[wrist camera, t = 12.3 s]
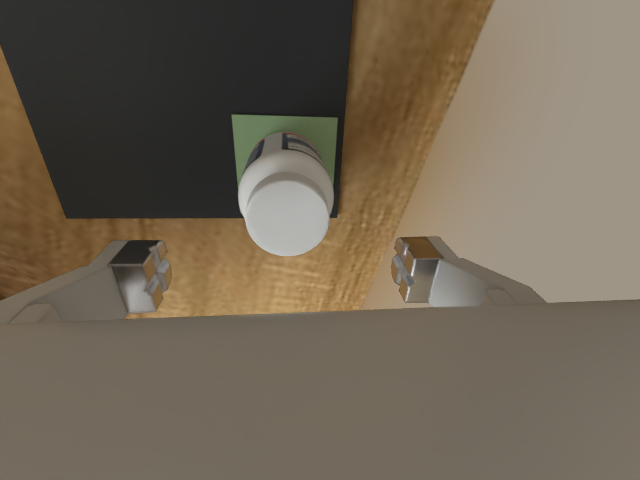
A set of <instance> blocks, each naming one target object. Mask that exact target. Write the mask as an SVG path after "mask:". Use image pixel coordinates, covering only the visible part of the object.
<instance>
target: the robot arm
mask: <svg viewBox="0 0 640 480" xmlns="http://www.w3.org/2000/svg"><path fill="white" fill-rule="evenodd" d="M394 249H395V250H396V252H397V254H396V255H395V256H394V257H393V258H392V265H391V273H392V277H393V280H394V282H395V283H396V284H398V285H399V286H400V288H399V292H400V294H401V296H402V298H403V300H404V302H405V303H429V304H430V305H431V306H432V307H429V308H403V309H379V310H351V311H326V312H300V313H274V314H248V315H222V316H196V317H170V318H143V319H123V318H124V317H126V316H127V315H128V314H129V313H145V312H156V311H157V309H158V307H159V305H160V303H161V301H162V299H163V296H162V293H163V292H164V291H166V290H168V288H169V286H170V283H171V277H172V272H171V265H170V263H169V262H168V261H167V260H166V259H165V258H164V257H165V255H166V253H167V249H166V245H165V243H164V242H163V241H162V240H116V241H112V242H111V243H110V244H109V245H108V246H107V247H106V248H105V249H104V250H103V251H102V252H101V253H100V254H99V255H98V256H97V257H96V258H95V259H94V260H93V261H92V262H91V263H90V264H89V265H88V266H82V267H79V268H77V269H74V270H72V271H70V272H67V273H65V274H62V275H60V276H58V277H55V278H53V279H50V280H48V281H46V282H43V283H41V284H38V285H36V286H34V287H31V288H29V289H26V290H24V291H22V292H19V293H17V294H14V295H12V296H10V297H7V298H5V299H2V300H0V480H640V300H613V301H588V302H561V303H547V302H546V301H545V300H544V299H542V298H541V297H540V296H539V295H538V294H537V293H536V292H535V291H534V290H533V289H532V288H530V287H529V286H526V285H524V284H522V283H519V282H517V281H515V280H512V279H510V278H508V277H505V276H503V275H501V274H498V273H496V272H494V271H492V270H489V269H487V268H484V267H482V266H480V265H478V264H475V263H473V262H471V261H468V260H466V259H464V258H458V257H457V256H456V254H455V253H454V252H453V251H452V250H451V249H450V248H449V247H448V246H447V245H446V244H445V242H444V241H443V240H442V239H441V238H440V237H438V236H430V237H400V238H397V240H396V242H395V247H394Z"/></svg>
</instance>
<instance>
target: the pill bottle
mask: <svg viewBox="0 0 640 480" xmlns="http://www.w3.org/2000/svg"><path fill="white" fill-rule="evenodd" d="M238 201H239V207H240V210H241V213H242V215H243V217H244V219H245V221H246V227H247V230H248V233H249V235H250V236H251V238H252V239H253V241H254V242H255V243H256V244H257V245H258V246H260V247H261V248H262V249H264V250H265V251H267V252H270V253H272V254H275V255H279V256H295V255H300V254H303V253H305V252H308V251H310V250H311V249H313V248H314V247H315V246H317V245H318V244H319V243H320V242H321V240H322V239H323V238H324V236H325V234H326V232H327V230H328V227H329V221H330V213H331V210H332V207H333V201H334V192H333V186H332V183H331V179H330V177H329V175H328V173H327V170H326V168H325V166H324V164H323V161H322V159H321V156H320V154H319V152H318V151H317V149H316V148H315V146H314V145H313V144H312V143H311V142H310V141H309V140H308V139H306V138H305V137H303V136H301V135H299V134H296V133H292V132H278V133H274V134H271V135H269V136H267V137H265V138H263V139H262V140H260V141H259V142H258V143H257V144H256V146H255V147H254V148H253V150H252V152H251V153H250V156H249V158H248V161H247V163H246V166H245V169H244V171H243V174H242V177H241V180H240V185H239V191H238Z"/></svg>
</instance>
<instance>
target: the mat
mask: <svg viewBox="0 0 640 480" xmlns="http://www.w3.org/2000/svg"><path fill="white" fill-rule="evenodd" d="M352 8H353V0H0V45H1V48H2V50H3V53H4V56H5V58H6V61H7V64H8V66H9V69H10V71H11V74H12V77H13V79H14V82H15V85H16V87H17V90H18V92H19V95H20V98H21V100H22V103H23V106H24V108H25V111H26V114H27V116H28V119H29V121H30V124H31V127H32V129H33V132H34V135H35V137H36V140H37V142H38V145H39V148H40V150H41V153H42V156H43V158H44V161H45V164H46V166H47V169H48V171H49V174H50V177H51V179H52V182H53V185H54V187H55V190H56V192H57V195H58V198H59V200H60V203H61V206H62V208H63V211H64V213H65V216H66V218H244V217H243V215H242V213H241V210H240V207H239V201H238V191H239V185H240V180H241V177H242V174H243V171H244V169H245V166H246V163H247V161H248V158H249V156H250V153H251V152H252V150H253V148H254V147H255V146H256V144H257V143H258V142H259V141H260V140H262V139H263V138H265V137H267V136H269V135H271V134H274V133H278V132H292V133H296V134H299V135H301V136H303V137H305V138H306V139H308V140H309V141H310V142H311V143H312V144H313V145H314V146H315V148H316V149H317V151H318V152H319V154H320V156H321V159H322V161H323V164H324V166H325V168H326V170H327V173H328V175H329V177H330V179H331V183H332V186H333V192H334V201H333V207H332V210H331V213H330V218H337V211H338V198H339V184H340V171H341V157H342V144H343V130H344V117H345V103H346V89H347V76H348V62H349V49H350V35H351V22H352Z"/></svg>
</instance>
